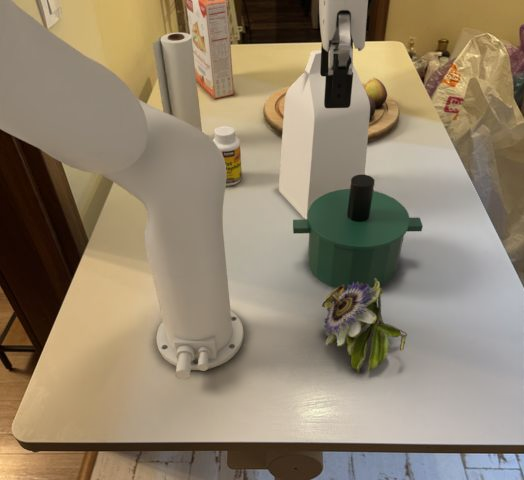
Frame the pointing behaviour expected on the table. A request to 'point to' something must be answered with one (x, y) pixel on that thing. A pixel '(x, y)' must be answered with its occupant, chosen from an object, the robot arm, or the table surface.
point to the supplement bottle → (229, 153)
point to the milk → (321, 139)
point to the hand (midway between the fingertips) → (334, 90)
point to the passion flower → (359, 323)
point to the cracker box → (211, 45)
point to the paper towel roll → (177, 77)
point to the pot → (351, 259)
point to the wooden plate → (381, 109)
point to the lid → (358, 216)
